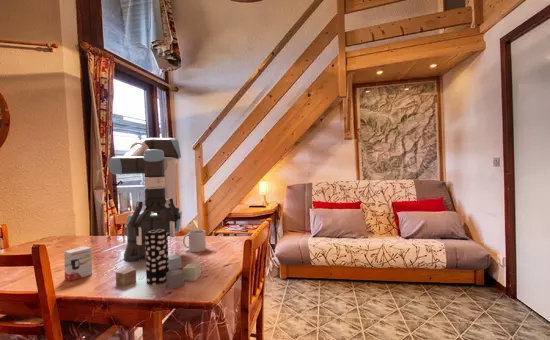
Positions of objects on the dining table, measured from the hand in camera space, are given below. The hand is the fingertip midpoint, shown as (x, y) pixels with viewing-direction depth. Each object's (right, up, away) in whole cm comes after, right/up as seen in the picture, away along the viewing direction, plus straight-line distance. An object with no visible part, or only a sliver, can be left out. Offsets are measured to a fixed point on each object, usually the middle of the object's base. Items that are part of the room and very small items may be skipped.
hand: (156, 240), depth 107 cm
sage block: (+14, -16, +2) cm, 21 cm away
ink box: (-36, -18, +7) cm, 41 cm away
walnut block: (-12, -17, -1) cm, 20 cm away
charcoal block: (+9, -16, -5) cm, 19 cm away
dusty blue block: (+1, -16, +14) cm, 21 cm away
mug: (+4, -16, +41) cm, 44 cm away
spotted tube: (0, -16, 0) cm, 16 cm away
